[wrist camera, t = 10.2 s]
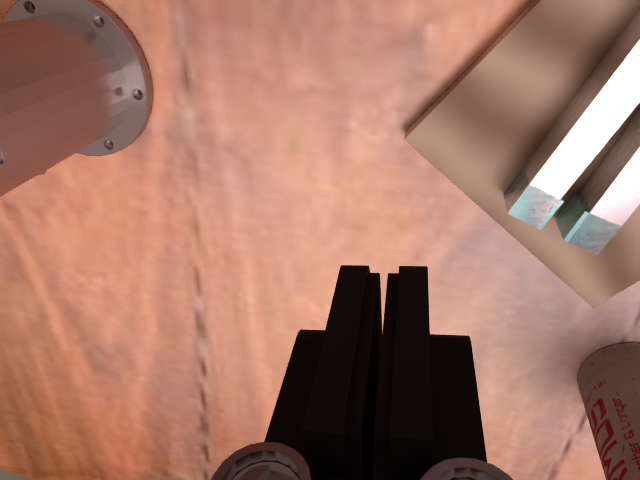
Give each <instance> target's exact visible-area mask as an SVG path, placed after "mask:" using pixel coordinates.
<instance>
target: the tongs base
mask: <svg viewBox="0 0 640 480" xmlns="http://www.w3.org/2000/svg"><path fill="white" fill-rule="evenodd" d="M639 103H640V9H639V10H638V12H637V13H636V14H635V16H634V17H633V18H632V20H631V21H630V23H629V24H628V25H627V27H626V28H625V29H624V31H623V32H622V33H621V35H620V36H619V37H618V39H617V40H616V42H615V43H614V44H613V46H612V47H611V48H610V50H609V51H608V52H607V54H606V55H605V56H604V58H603V59H602V60H601V62H600V63H599V65H598V66H597V67H596V69H595V70H594V71H593V73H592V74H591V75H590V77H589V78H588V79H587V81H586V82H585V84H584V85H583V86H582V88H581V89H580V90H579V92H578V93H577V94H576V96H575V97H574V98H573V100H572V101H571V103H570V104H569V105H568V107H567V108H566V109H565V111H564V112H563V113H562V115H561V116H560V117H559V119H558V120H557V121H556V123H555V124H554V126H553V127H552V128H551V130H550V131H549V132H548V134H547V135H546V136H545V138H544V139H543V140H542V142H541V143H540V145H539V146H538V147H537V149H536V150H535V151H534V153H533V154H532V155H531V157H530V158H529V159H528V161H527V162H526V164H525V165H524V166H523V168H522V169H521V170H520V172H519V173H518V174H517V176H516V177H515V178H514V180H513V181H512V183H511V184H510V185H509V187H508V188H507V189H506V191H505V192H504V193H503V196H504V201H505V205H506V210H507V213H508V214H510V215H512V216H514V217H516V218H518V219H520V220H522V221H524V222H526V223H528V224H530V225H532V226H534V227H536V228H538V229H540V230H541V229H542V228H543V227H544V225H545V224H546V223H547V222H548V220H549V219H550V218H551V217H552V216H553V214H554V213H555V212H556V211H557V210H558V208H559V207H560V206H561V205H562V204H563V202H564V200H563V198H562V196H563V195H564V194H565V193H566V192H567V190H568V189H569V188H570V187H571V185H572V184H573V183H574V182H575V181H576V179H577V178H578V177H579V176H580V174H581V173H582V172H583V171H584V170H585V168H586V167H587V166H588V165H589V164H590V162H591V161H592V160H593V159H594V157H595V156H596V155H597V154H598V153H599V151H600V150H601V149H602V148H603V146H604V145H605V144H606V143H607V142H608V140H609V139H610V138H611V137H612V135H613V134H614V133H615V132H616V131H617V129H618V128H619V127H620V126H621V124H622V123H623V122H624V121H625V120H626V118H627V117H628V116H629V115H630V114H631V112H632V111H633V110H634V109H635V107H636V106H637V105H638V104H639Z"/></svg>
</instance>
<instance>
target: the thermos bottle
mask: <svg viewBox="0 0 640 480" xmlns="http://www.w3.org/2000/svg"><path fill="white" fill-rule="evenodd" d="M577 380H578V386H579V390H580V393H581V396H582V400H583V403H584V407H585V410H586V413H587V417H588V420H589V423H590V427H591V430H592V433H593V437H594V440H595V443H596V447H597V450H598V454H599V457H600V460H601V464H602V467H603V470H604V474H605V477H606V480H640V343H631V342H630V343H620V344H616V345H611V346H608V347H606V348H603V349H601V350H599V351H597V352H595V353H594V354H592V355H591V356H590V357H589V358H587V359H586V360H585V362H584V363H583V364H582V365H581V368H580V370H579V372H578V378H577Z"/></svg>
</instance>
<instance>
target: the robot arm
mask: <svg viewBox="0 0 640 480" xmlns="http://www.w3.org/2000/svg"><path fill="white" fill-rule="evenodd" d="M103 19H104V20H103ZM141 92H142V93H141ZM152 100H153V93H152V81H151V77H150V73H149V69H148V65H147V63H146V60H145V58H144V56H143V53H142V51H141V49H140V47H139V45H138V44H137V42H136V40H135V39H134V37H133V35H132V34H131V33H130V31H129V30H128V29H127V28H126V27H125V25H124V24H123V23H122V22H121V20H120V19H118V18H117V17H116V16H115V15H114V14H113V13H112V12H111V11H110V10H108V9H107V8H106V7H105V6H103V5H101V4H100V3H98V2H97V1H95V0H18V1H17V2H15V3H14V4H13V5H12V6H11V7H10V9H9V10H8V12H7V13H6V15H5V16H4V19H3V22H2V23H0V197H1V196H2V195H4V194H6V193H7V192H9V191H11V190H13V189H14V188H16V187H18V186H20V185H21V184H23V183H25V182H27V181H28V180H30V179H32V178H33V177H35V176H37V175H42V174H45V172H46V170H47V169H49V168H51V167H53V166H54V165H56V164H58V163H59V162H61V161H63V160H65V159H66V158H68V157H70V156H72V155H73V154H75V153H78V154H83V155H87V156H104V155H110V154H113V153H116V152H118V151H120V150H123V149H124V148H126V147H127V146H129V145H130V144H132V143H133V142H134V141H135V140H136V139H137V138H138V137H139V136H140V135H141V134H142V132H143V130H144V129H145V127H146V125H147V123H148V120H149V117H150V114H151V109H152ZM211 480H513V479H512V478H511V477H510V476H509V475H508V474H506V473H505V472H503V471H502V470H500V469H499V468H497V467H496V466H494V465H492V464H489V463H487V458H486V451H485V443H484V436H483V428H482V421H481V413H480V406H479V398H478V391H477V383H476V376H475V368H474V361H473V353H472V346H471V340H470V337H469V336H459V335H433V334H430V332H429V299H428V267H427V266H399V273H388V279H387V291H386V302H385V313H384V324H383V335H382V313H381V287H380V273H370V269H369V266H353V265H342V266H341V267H340V271H339V275H338V279H337V283H336V288H335V292H334V296H333V300H332V304H331V309H330V313H329V317H328V321H327V325H326V330H300V331H299V332H298V335H297V337H296V341H295V344H294V347H293V350H292V354H291V357H290V360H289V363H288V367H287V370H286V373H285V376H284V380H283V383H282V386H281V389H280V393H279V396H278V399H277V402H276V406H275V409H274V412H273V415H272V419H271V422H270V425H269V428H268V432H267V435H266V438H265V441H264V442H261V443H256V444H250V445H248V446H246V447H244V448H242V449H239V450H237V451H235V452H234V453H233V454H232V455H230V456H229V457H228V458H227V459H226V460H224V461H223V462H222V464H221V465H220V467H219V468H218V469H217V471H216V472H215V473H214V475H213V477H212V479H211Z"/></svg>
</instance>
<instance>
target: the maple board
mask: <svg viewBox="0 0 640 480" xmlns="http://www.w3.org/2000/svg"><path fill="white" fill-rule="evenodd" d="M639 9H640V0H534V1H533V2H532V3H531V4H530V5H529V6H528V7H527V8H526V9H525V10H524V11H523V12H522V13H521V14H520V16H519V17H518V18H517V19H516V20H515V21H514V22H513V23H512V24H511V25H510V26H509V27H508V28H507V29H506V30H505V31H504V32H503V33H502V34H501V35H500V36H499V37H498V38H497V39H496V40H495V41H494V42H493V43H492V44H491V45H490V46H489V47H488V48H487V49H486V50H485V51H484V52H483V54H482V55H481V56H480V57H479V58H478V59H477V60H476V61H475V62H474V63H473V64H472V65H471V66H470V67H469V68H468V69H467V70H466V71H465V72H464V73H463V74H462V75H461V76H460V77H459V78H458V79H457V80H456V81H455V82H454V83H453V84H452V85H451V86H450V87H449V88H448V89H447V90H446V91H445V93H444V94H443V95H442V96H441V97H440V98H439V99H438V100H437V101H436V102H435V103H434V104H433V105H432V106H431V107H430V108H429V109H428V110H427V111H426V112H425V113H424V114H423V115H422V116H421V117H420V118H419V119H418V120H417V121H416V122H415V123H414V124H413V125H412V126H411V127H410V128H409V129H408V130H407V132H406V133H405V138H404V140H405V141H406V142H408V143H409V144H410V145H411V146H412V147H413V148H414V149H415V150H417V151H418V152H419V153H420V154H421V155H422V156H423V157H424V158H426V159H427V160H428V161H429V162H430V163H431V164H432V165H433V166H434V167H436V168H437V169H438V170H439V171H440V172H441V173H442V174H443V175H445V176H446V177H447V178H448V179H449V180H450V181H451V182H452V183H454V184H455V185H456V186H457V187H458V188H459V189H460V190H461V191H463V192H464V193H465V194H466V195H467V196H468V197H469V198H470V199H472V200H473V201H474V202H475V203H476V204H477V205H478V206H479V207H481V208H482V209H483V210H484V211H485V212H486V213H487V214H488V215H489V216H491V217H492V218H493V219H494V220H495V221H496V222H497V223H498V224H500V225H501V226H502V227H503V228H504V229H505V230H506V231H507V232H509V233H510V234H511V235H512V236H513V237H514V238H515V239H516V240H518V241H519V242H520V243H521V244H522V245H523V246H524V247H525V248H527V249H528V250H529V251H530V252H531V253H532V254H533V255H534V256H536V257H537V258H538V259H539V260H540V261H541V262H542V263H543V264H544V265H546V266H547V267H548V268H549V269H550V270H551V271H552V272H553V273H555V274H556V275H557V276H558V277H559V278H560V279H561V280H562V281H564V282H565V283H566V284H567V285H568V286H569V287H570V288H571V289H573V290H574V291H575V292H576V293H577V294H578V295H579V296H580V297H582V298H583V299H584V300H585V301H586V302H587V303H588V304H589V305H591V306H592V307H593V308H594V307H596V306H598V305H599V304H601V303H603V302H604V301H606V300H608V299H609V298H611V297H613V296H614V295H616V294H617V293H619V292H621V291H622V290H624V289H626V288H627V287H629V286H631V285H632V284H634V283H636V282H637V281H639V280H640V204H639V205H638V207H637V208H636V209H635V210H634V212H633V213H632V214H631V215H630V217H629V218H628V219H627V220H626V221H625V223H624V224H623V225H622V226H621V228H620V229H619V230H618V231H617V232H616V234H615V235H614V236H613V237H612V239H611V240H610V241H609V242H608V243H607V245H606V246H605V247H604V248H603V250H602V251H601V252H600V253H599V255H597V254H595V253H592V252H590V251H588V250H585V249H583V248H580V247H578V246H575V245H573V244H571V243H568V242H566V241H563V238H562V236H561V233H560V231H559V228H558V226H557V223H556V220H555V219H556V217H557V216H558V215H559V213H560V212H561V210H562V209H563V208H564V206H565V205H566V204H567V202H568V201H569V199H570V198H571V197H572V195H573V194H574V192H578V193H580V191H581V190H582V189H583V187H584V186H585V184H586V183H587V182H588V180H589V179H590V178H591V176H592V175H593V173H594V172H595V171H596V169H597V168H598V167H599V165H600V164H601V162H602V161H603V160H604V158H605V157H606V156H607V154H608V153H609V151H610V150H611V149H612V147H613V146H614V145H615V143H616V142H617V140H618V139H619V138H620V136H621V135H622V134H623V132H624V131H625V129H626V128H627V127H628V125H629V124H630V122H631V121H632V120H633V118H634V117H635V116H636V114H637V113H638V111H639V110H640V103H639V104H638V105H637V106H636V107H635V109H634V110H633V111H632V112H631V114H630V115H629V116H628V117H627V118H626V120H625V121H624V122H623V123H622V124H621V126H620V127H619V128H618V129H617V131H616V132H615V133H614V134H613V135H612V137H611V138H610V139H609V140H608V142H607V143H606V144H605V145H604V146H603V148H602V149H601V150H600V151H599V153H598V154H597V155H596V156H595V157H594V159H593V160H592V161H591V162H590V164H589V165H588V166H587V167H586V168H585V170H584V171H583V172H582V173H581V174H580V176H579V177H578V178H577V179H576V181H575V182H574V183H573V184H572V185H571V187H570V188H569V189H568V190H567V192H566V193H565V194H564V195H563V196H562V198H563V200H564V202H563V204H562V205H561V206H560V207H559V208H558V210H557V211H556V212H555V213H554V214H553V216H552V217H551V218H550V219H549V220H548V222H547V223H546V224H545V225H544V227H543V228H542V229H541V230H540V229H538V228H536V227H534V226H532V225H530V224H528V223H526V222H524V221H522V220H520V219H518V218H516V217H514V216H512V215H510V214H508V213H507V210H506V205H505V201H504V196H503V193H504V192H505V191H506V189H507V188H508V187H509V185H510V184H511V183H512V181H513V180H514V178H515V177H516V176H517V174H518V173H519V172H520V170H521V169H522V168H523V166H524V165H525V164H526V162H527V161H528V159H529V158H530V157H531V155H532V154H533V153H534V151H535V150H536V149H537V147H538V146H539V145H540V143H541V142H542V140H543V139H544V138H545V136H546V135H547V134H548V132H549V131H550V130H551V128H552V127H553V126H554V124H555V123H556V121H557V120H558V119H559V117H560V116H561V115H562V113H563V112H564V111H565V109H566V108H567V107H568V105H569V104H570V103H571V101H572V100H573V98H574V97H575V96H576V94H577V93H578V92H579V90H580V89H581V88H582V86H583V85H584V84H585V82H586V81H587V79H588V78H589V77H590V75H591V74H592V73H593V71H594V70H595V69H596V67H597V66H598V65H599V63H600V62H601V60H602V59H603V58H604V56H605V55H606V54H607V52H608V51H609V50H610V48H611V47H612V46H613V44H614V43H615V42H616V40H617V39H618V37H619V36H620V35H621V33H622V32H623V31H624V29H625V28H626V27H627V25H628V24H629V23H630V21H631V20H632V18H633V17H634V16H635V14H636V13H637V12H638V10H639Z"/></svg>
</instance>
